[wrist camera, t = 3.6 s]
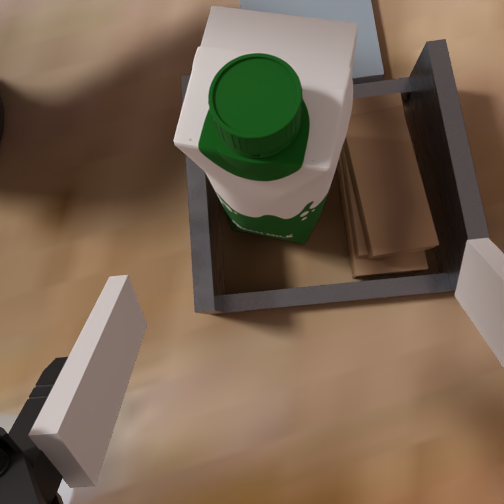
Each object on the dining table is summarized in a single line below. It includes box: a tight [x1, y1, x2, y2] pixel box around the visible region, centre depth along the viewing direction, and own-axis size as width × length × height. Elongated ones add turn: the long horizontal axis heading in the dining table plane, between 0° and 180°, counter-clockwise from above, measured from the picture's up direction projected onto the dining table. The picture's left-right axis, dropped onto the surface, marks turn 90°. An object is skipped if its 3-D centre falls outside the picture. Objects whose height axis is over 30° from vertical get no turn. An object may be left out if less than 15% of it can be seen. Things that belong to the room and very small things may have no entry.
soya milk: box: [173, 6, 358, 244], centre depth 26 cm, size 9×9×20 cm
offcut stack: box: [337, 93, 439, 278], centre depth 33 cm, size 6×16×5 cm, turn 5°
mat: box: [240, 0, 384, 84], centre depth 38 cm, size 13×13×1 cm
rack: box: [181, 39, 490, 315], centre depth 32 cm, size 22×20×6 cm
